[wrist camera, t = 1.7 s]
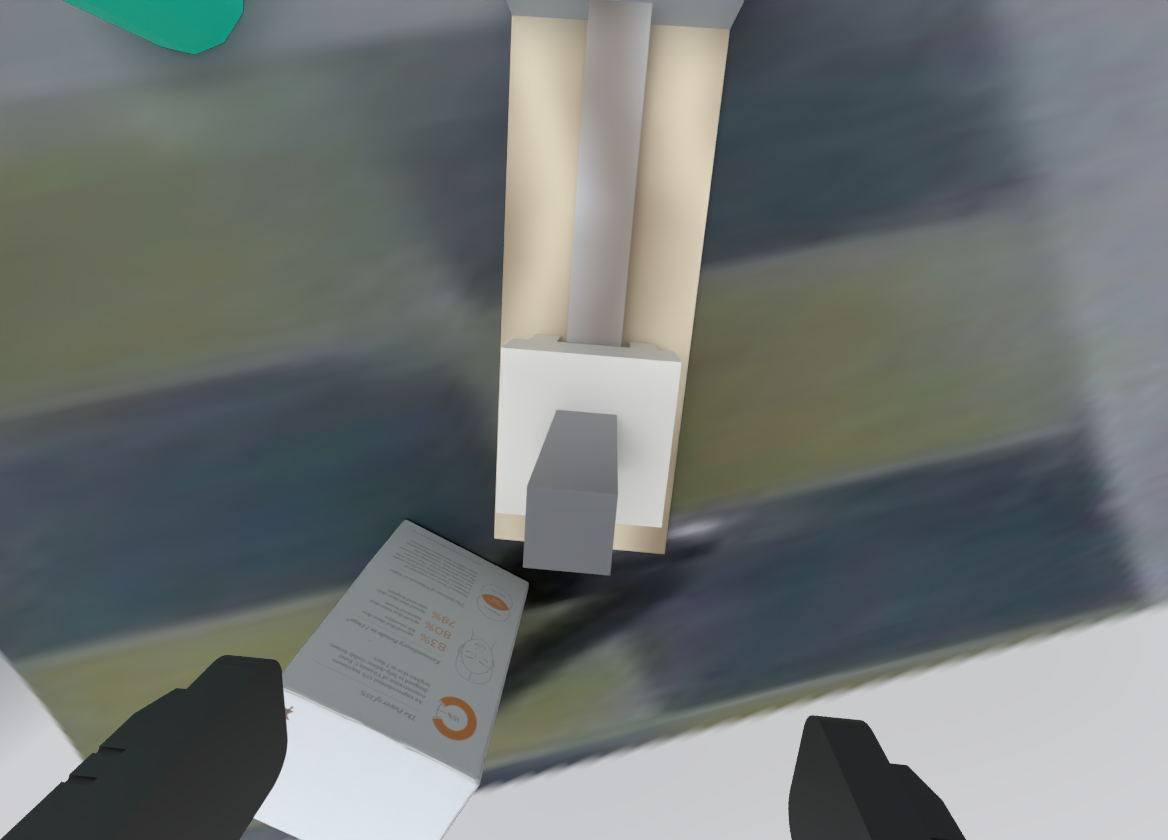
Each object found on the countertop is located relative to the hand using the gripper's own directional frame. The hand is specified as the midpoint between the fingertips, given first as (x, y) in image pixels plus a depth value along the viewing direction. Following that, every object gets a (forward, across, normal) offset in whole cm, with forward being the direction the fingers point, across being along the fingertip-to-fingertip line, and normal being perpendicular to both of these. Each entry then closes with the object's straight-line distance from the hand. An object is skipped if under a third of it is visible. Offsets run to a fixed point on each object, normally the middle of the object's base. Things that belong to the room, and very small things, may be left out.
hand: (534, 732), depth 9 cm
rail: (+22, 0, -4) cm, 22 cm away
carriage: (+20, 0, 0) cm, 20 cm away
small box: (+22, +8, +12) cm, 26 cm away
